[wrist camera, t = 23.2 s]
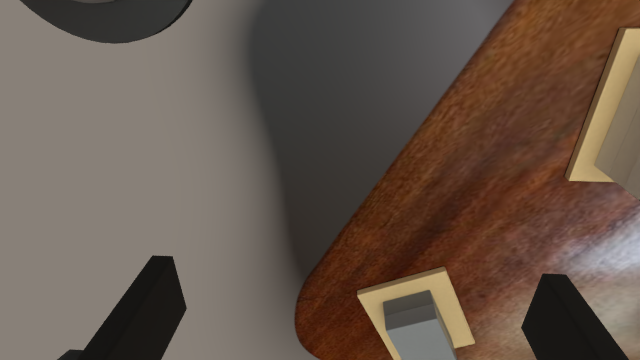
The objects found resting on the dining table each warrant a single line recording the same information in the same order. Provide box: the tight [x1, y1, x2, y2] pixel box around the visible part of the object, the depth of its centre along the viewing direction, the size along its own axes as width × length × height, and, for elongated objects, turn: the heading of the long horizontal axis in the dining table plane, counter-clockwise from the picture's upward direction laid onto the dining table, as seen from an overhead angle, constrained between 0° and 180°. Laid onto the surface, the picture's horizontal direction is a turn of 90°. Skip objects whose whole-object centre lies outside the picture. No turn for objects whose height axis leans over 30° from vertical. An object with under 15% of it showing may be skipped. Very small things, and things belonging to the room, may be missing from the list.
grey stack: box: [357, 266, 475, 360], centre depth 51 cm, size 16×13×6 cm
